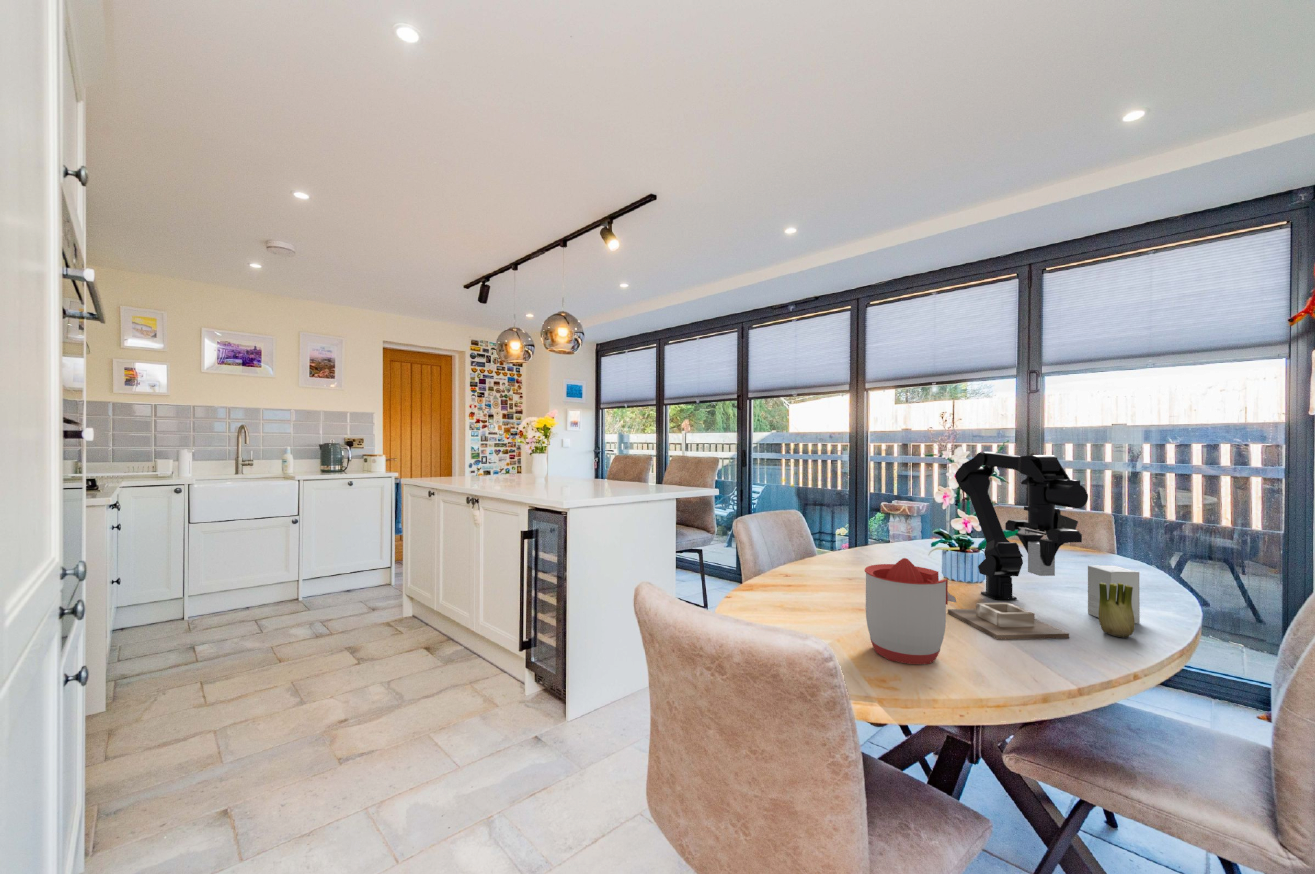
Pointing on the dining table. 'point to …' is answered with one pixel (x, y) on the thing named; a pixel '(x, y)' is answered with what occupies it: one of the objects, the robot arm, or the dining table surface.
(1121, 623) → the fennel bulb
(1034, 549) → the metal peg
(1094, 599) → the supplement box
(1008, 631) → the socket board
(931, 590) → the citrus juicer
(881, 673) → the dining table surface
